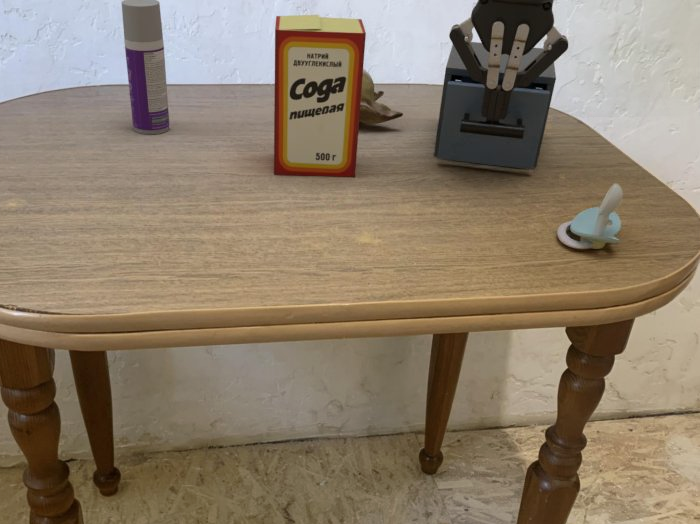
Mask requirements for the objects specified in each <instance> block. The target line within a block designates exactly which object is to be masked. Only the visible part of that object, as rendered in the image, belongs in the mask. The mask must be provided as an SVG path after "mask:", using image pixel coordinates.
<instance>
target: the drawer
mask: <svg viewBox="0 0 700 524" xmlns="http://www.w3.org/2000/svg"><path fill="white" fill-rule="evenodd" d="M501 83H502V80H500V79H498V85H501ZM498 89H499V88H498ZM484 94H485V86H484V85H483V84H482V83H480V82H478V81H474V80H472V78H471V77H469V76H459V75H456V79H455V82H454V81H449V82H448V86H447V93H446V100H445V107H444V114H443V121H442V128H441V136H440V143H439V150H438V156H436V157H437V158H436V159H438V160H445V161H453V162H454V161H456V162H462V163H471V164H480V165H490V166H499V167H505V168H506V167H507V168H516V169H524V170H534V168H535V167H534V164H535V159H536V154H537V150H538V145H539V141H540V136H541V132H542V127H543V123H544V118H545V114H546V109H547V104H548V100H549V95H550V92H549V91H545V90H542V84H540V83H531V84H530V85H529V86H527V87H524V86H520V87H516V88H514V89H513V91H512V92H511V97H510V102H509V107H508V112H507V116H506V117H505V119H500V120H499V123H494V122H493V121H492V122H486V118H487V117H482V113H481V111H482V105H483V99H484ZM497 95H498V94H497ZM496 100H497V99H496ZM494 111H495V110H494ZM493 116H494V115H493Z"/></svg>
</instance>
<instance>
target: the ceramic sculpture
mask: <svg viewBox="0 0 700 524" xmlns="http://www.w3.org/2000/svg"><path fill="white" fill-rule="evenodd" d="M384 94H385V92H384V91H382V90H378V91H375V83H374V80H373V77H372V76H371V75H370V73H369V72H368V71H367V70H366V69H365V68H363V77H362V91H361V104H360V117H359V122H361V123H363V124H369V125H377V124H382V123H387V122H389V121H393V120H395V119H398V118H401V117H403V115H404V113H403V112H400V111H395V110H392V109H391V108H390V107H389V106H387V105H386V104H384V103H380V102H377V100H379V99H381V97H383V96H384Z"/></svg>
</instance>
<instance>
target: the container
mask: <svg viewBox="0 0 700 524" xmlns="http://www.w3.org/2000/svg"><path fill="white" fill-rule="evenodd" d="M121 13H122V14H121V15H122V25H123V41H124V51H125V60H126V61H125V62H126V71H127V81H128V90H129V100H130V111H131V121H132V127H133V128H132V129H133V131H134V132H136V133H137V134H142V135H160V134H163V133H166V132H168V131H169V130H170V114H169V100H168V86H167V85H168V84H167V71H166V57H165V46H164V45H165V44H164V33H163V25H162V16H161V15H162V14H161V4H160V1H158V0H122V1H121Z"/></svg>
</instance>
